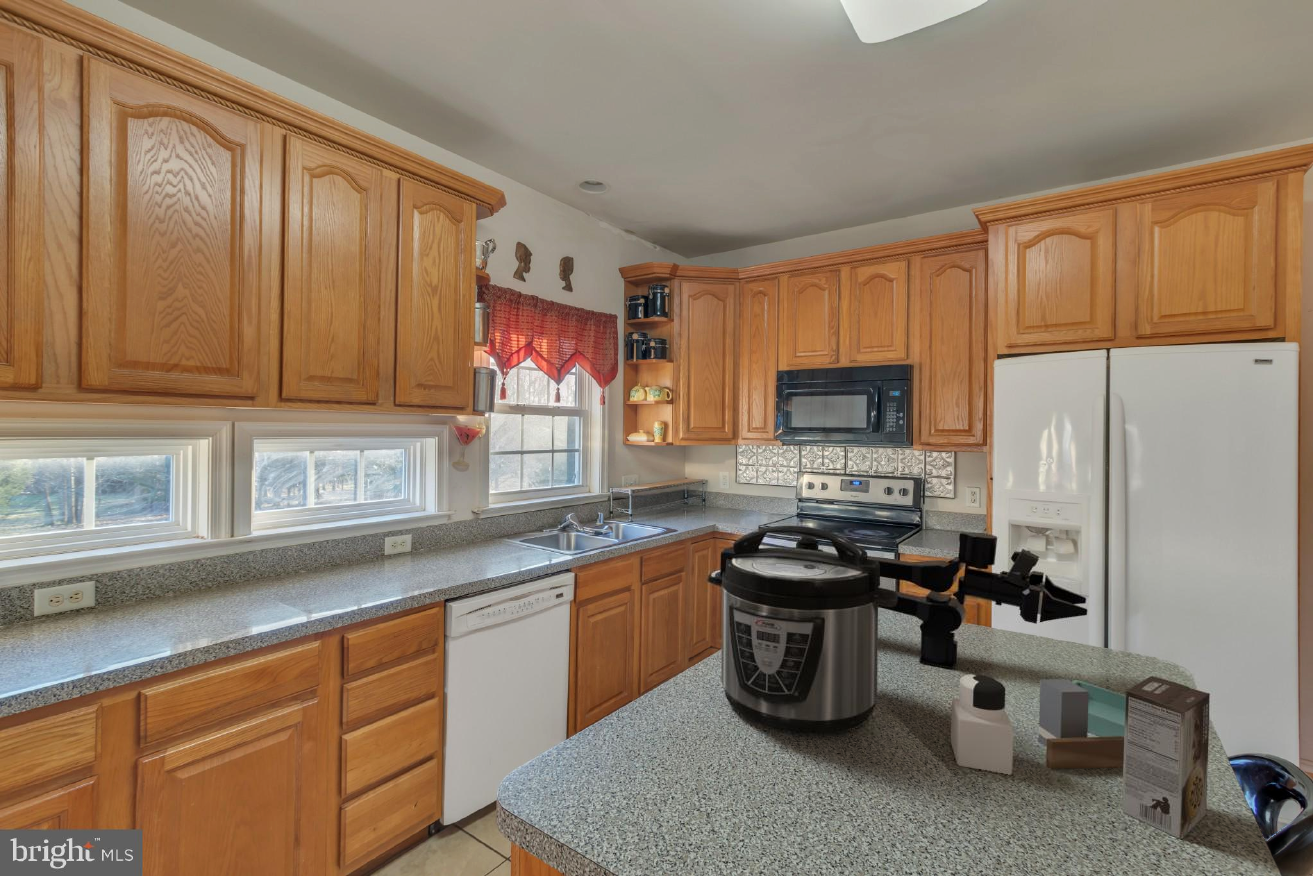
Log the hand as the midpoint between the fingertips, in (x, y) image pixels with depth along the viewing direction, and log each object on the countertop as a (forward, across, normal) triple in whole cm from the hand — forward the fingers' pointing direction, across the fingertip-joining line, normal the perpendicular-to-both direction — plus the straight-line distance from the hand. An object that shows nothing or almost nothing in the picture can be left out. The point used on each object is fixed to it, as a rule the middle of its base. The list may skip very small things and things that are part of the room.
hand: (1086, 606), depth 112 cm
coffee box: (+9, -37, +16) cm, 42 cm away
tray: (+4, -11, +16) cm, 20 cm away
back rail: (+1, -30, +17) cm, 34 cm away
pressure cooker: (-41, -38, +20) cm, 59 cm away
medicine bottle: (-12, -37, +18) cm, 43 cm away
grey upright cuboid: (-2, -26, +17) cm, 31 cm away
